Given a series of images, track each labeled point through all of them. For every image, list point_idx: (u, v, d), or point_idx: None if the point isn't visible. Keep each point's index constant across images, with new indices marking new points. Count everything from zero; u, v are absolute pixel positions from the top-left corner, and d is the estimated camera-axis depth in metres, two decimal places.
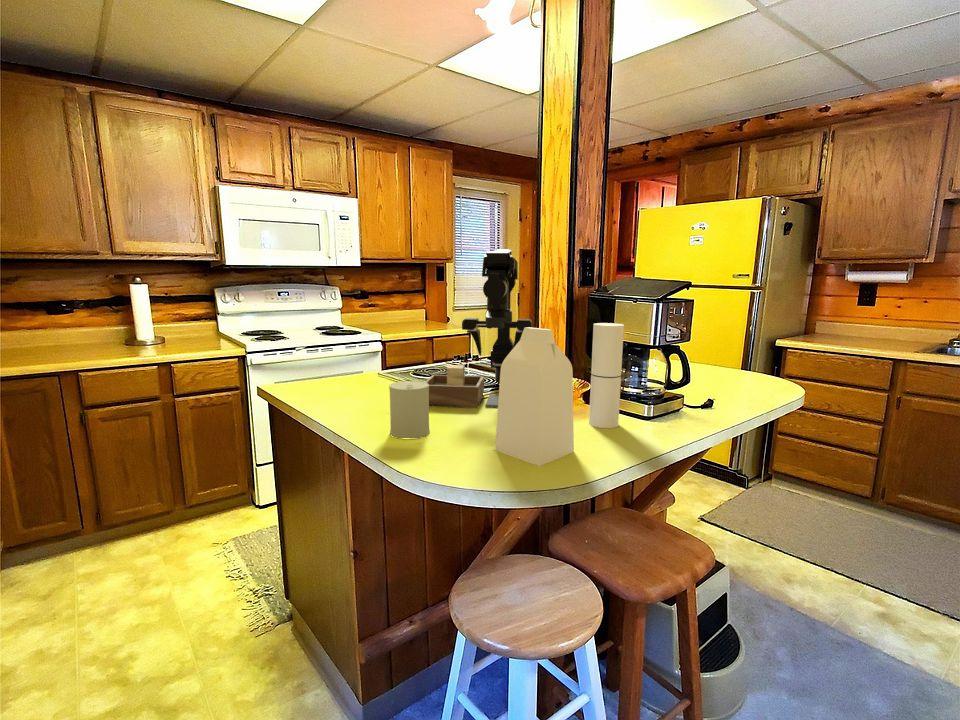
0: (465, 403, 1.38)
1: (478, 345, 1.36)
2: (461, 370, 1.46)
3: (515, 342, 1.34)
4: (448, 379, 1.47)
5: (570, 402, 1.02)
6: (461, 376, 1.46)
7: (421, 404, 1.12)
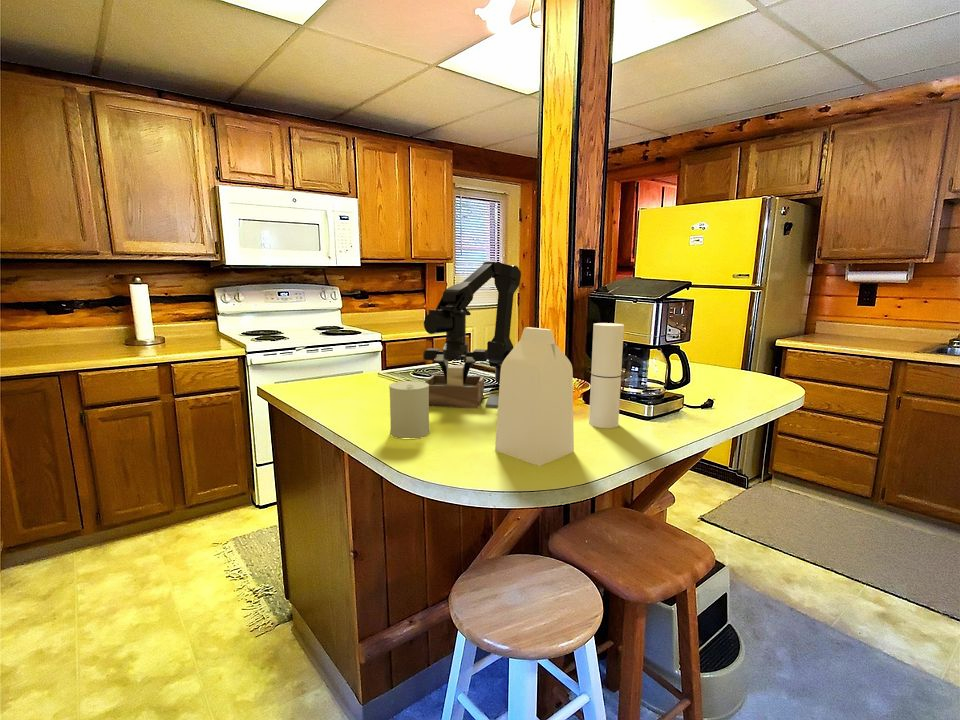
0: (465, 403, 1.38)
1: (445, 374, 1.48)
2: (461, 370, 1.46)
3: (465, 371, 1.47)
4: (448, 379, 1.47)
5: (570, 402, 1.02)
6: (461, 376, 1.46)
7: (421, 404, 1.12)
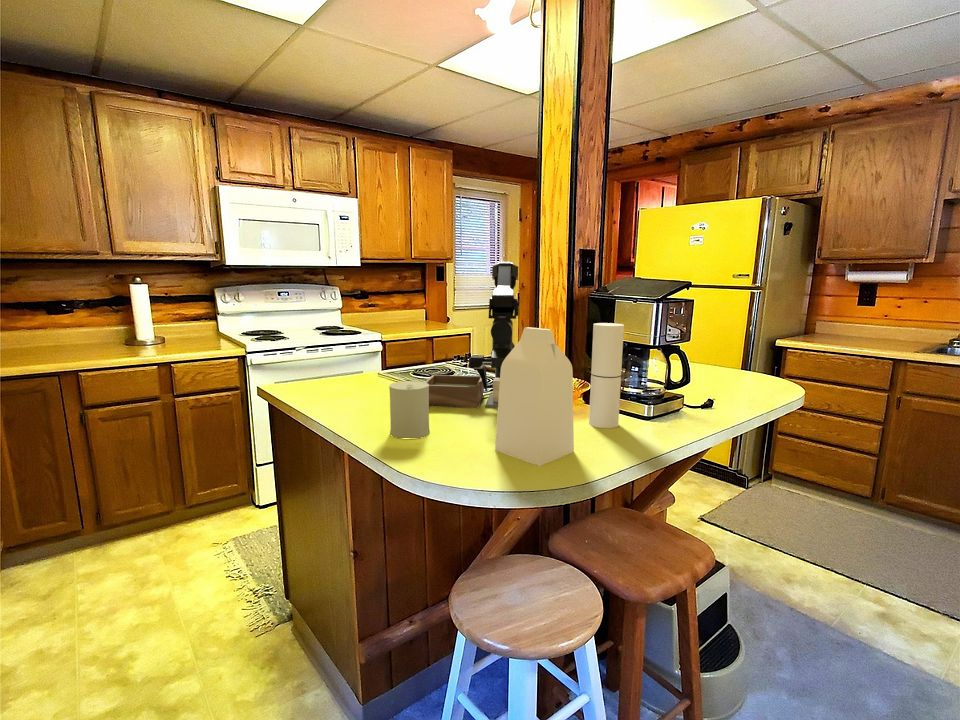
0: (465, 403, 1.38)
1: (484, 381, 1.43)
2: None
3: None
4: (494, 392, 1.42)
5: (570, 402, 1.02)
6: None
7: (421, 404, 1.12)
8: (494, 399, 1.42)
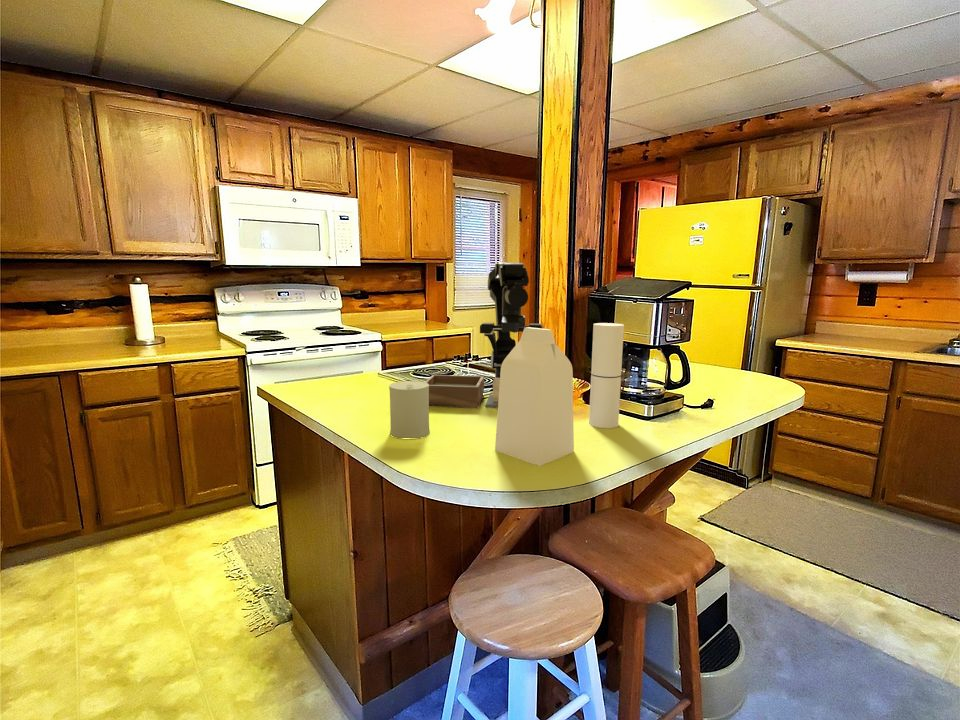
0: (465, 403, 1.38)
1: (494, 347, 1.51)
2: None
3: None
4: (494, 392, 1.42)
5: (570, 402, 1.02)
6: None
7: (421, 404, 1.12)
8: (494, 399, 1.42)
